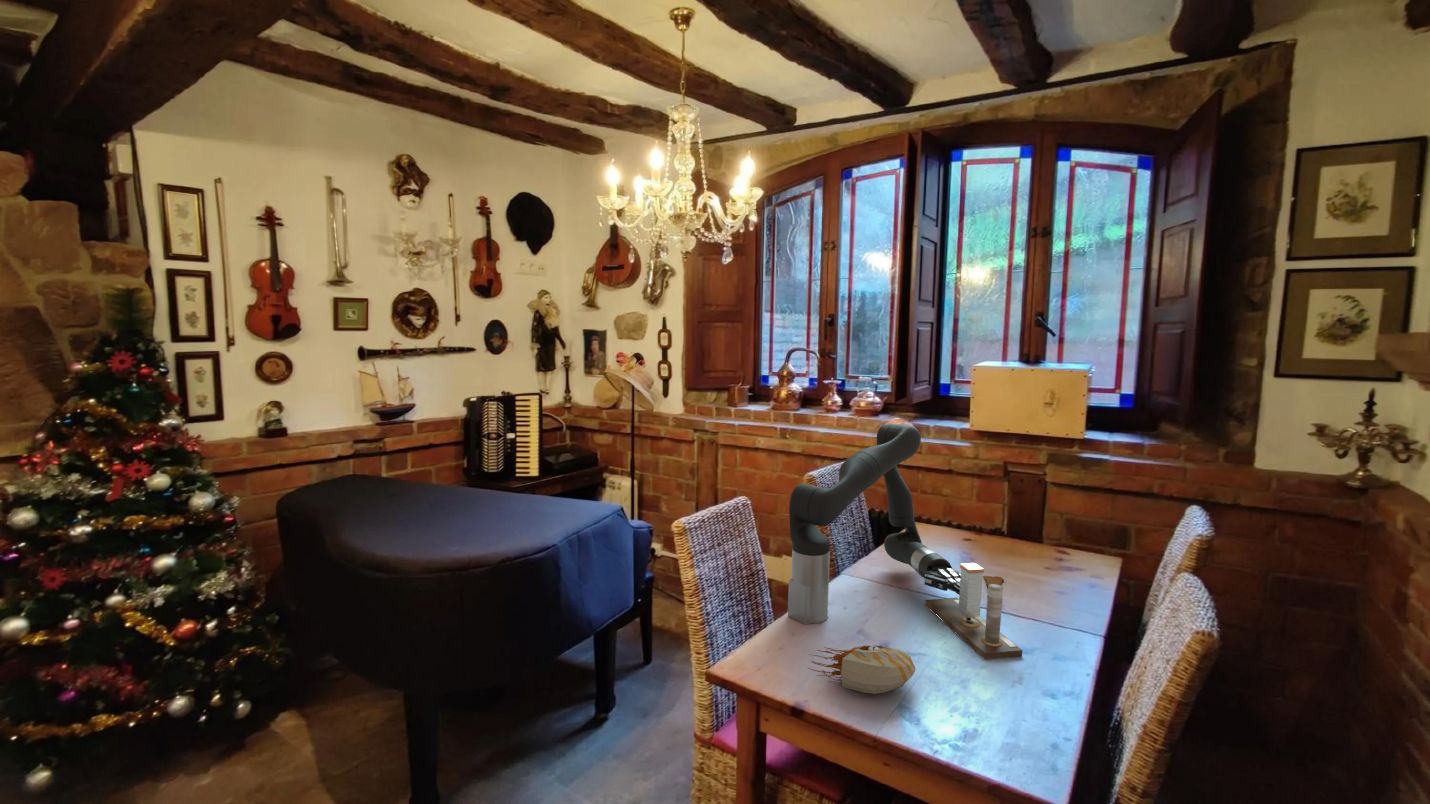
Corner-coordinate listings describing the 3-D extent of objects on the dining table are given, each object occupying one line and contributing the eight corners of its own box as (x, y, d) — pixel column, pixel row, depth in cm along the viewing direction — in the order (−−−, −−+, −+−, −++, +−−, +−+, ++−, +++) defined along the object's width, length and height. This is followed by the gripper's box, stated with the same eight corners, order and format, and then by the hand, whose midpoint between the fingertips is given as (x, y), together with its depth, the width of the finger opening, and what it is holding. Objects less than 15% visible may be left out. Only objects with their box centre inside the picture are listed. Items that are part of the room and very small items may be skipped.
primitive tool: (982, 577, 186) (983, 565, 186) (1003, 579, 184) (1004, 568, 184) (986, 604, 168) (987, 591, 168) (1009, 607, 166) (1010, 595, 166)
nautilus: (798, 690, 129) (819, 658, 143) (908, 712, 120) (919, 676, 133) (798, 652, 129) (818, 624, 142) (908, 671, 119) (919, 639, 133)
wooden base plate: (1021, 656, 142) (1026, 594, 140) (984, 659, 140) (988, 596, 138) (956, 602, 168) (960, 549, 166) (924, 605, 166) (927, 551, 165)
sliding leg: (980, 622, 153) (983, 568, 151) (965, 623, 152) (969, 569, 150) (971, 615, 156) (974, 562, 155) (957, 616, 156) (960, 563, 154)
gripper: (908, 553, 171) (941, 580, 154) (954, 551, 173) (991, 576, 156) (906, 580, 172) (939, 609, 155) (952, 577, 174) (989, 606, 157)
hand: (965, 593), depth 155 cm, fingers closed
